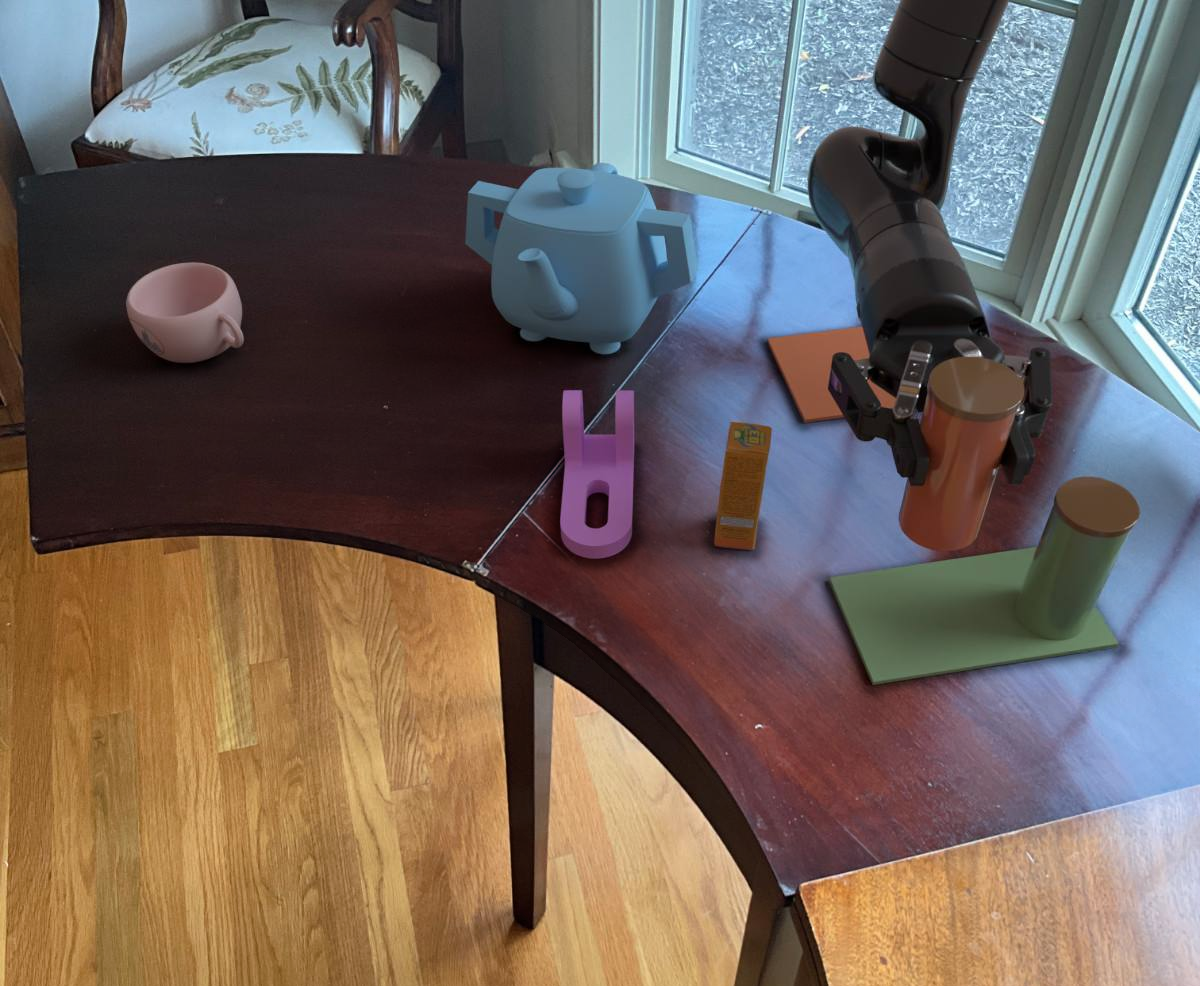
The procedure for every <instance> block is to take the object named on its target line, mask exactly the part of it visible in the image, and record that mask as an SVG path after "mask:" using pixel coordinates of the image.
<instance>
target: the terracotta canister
mask: <svg viewBox="0 0 1200 986" xmlns="http://www.w3.org/2000/svg"><path fill="white" fill-rule="evenodd" d="M927 391H928V393H927V397H926V401H925V406H924V410H923V412H922V414H921V418H920V422H919V424H920V428H921V432H922V435H923V438H924V441H925V445H926V448H927V452H928V456H929V467H928V471H927V475H926V479H925V483H924V485H923V486H910V483H909V479H908V478H906V482H905V487H904V492H903V495H902V500H901V504H900V508H899V512H898V526H899V527H900V530H901V531H902V532H903V533H902V534H904V535H905V536H906V537H907V539H908V540H910V541H911V542H913V543H914V544H916V545H917V546H919V547H922V548H925V549H927V550H931V551H935V552H936V551H937V552H954V551H958V550H961V549H964V548H966V547H967V546H969V545H971V544H972V543H973V542H974V541H975V540H976V539H977V538H978V535H979V532H980V529H981V526H982V523H983V519H984V517H985V513H986V511H987V508H988V503H989V501H990V497H991V495H992V491H993V488H994V485H995V481H996V478H997V475H998V472H999V469H1000V467H1001V464H1000V463H1001V459H1002V456H1003V453H1004V450H1005V447H1006V444H1007V440H1008V437H1009V434H1010V431H1011V428H1012V425H1013V421H1014V418H1015V415H1016V412H1017V409H1018V408H1019V407H1020V405H1021V402H1022V399H1023V396H1024V385H1023V382H1022V381H1021V379H1020V377H1019V376H1018V375H1017V374H1016V373H1015V372H1014V371H1013V370H1011V369H1010V368H1008V367H1007V366H1005V365H1003V364H1001V363H999V362H996V361H993V360H990V359H986V358H980V357H957V358H952V359H949V360H946V361H944V362H942V363H940V364H939V365H937V366H936V367H935V368H934V369H933V370H932V372H931V374H930V376H929V381H928V386H927Z"/></svg>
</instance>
